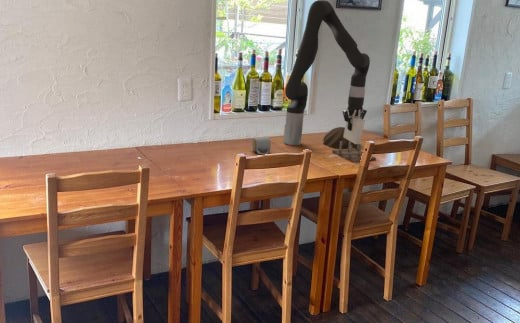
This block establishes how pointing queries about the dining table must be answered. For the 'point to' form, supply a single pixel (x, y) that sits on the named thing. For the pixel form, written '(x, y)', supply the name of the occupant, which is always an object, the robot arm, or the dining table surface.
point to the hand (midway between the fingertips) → (352, 129)
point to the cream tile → (354, 130)
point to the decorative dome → (337, 139)
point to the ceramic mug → (261, 145)
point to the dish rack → (350, 153)
